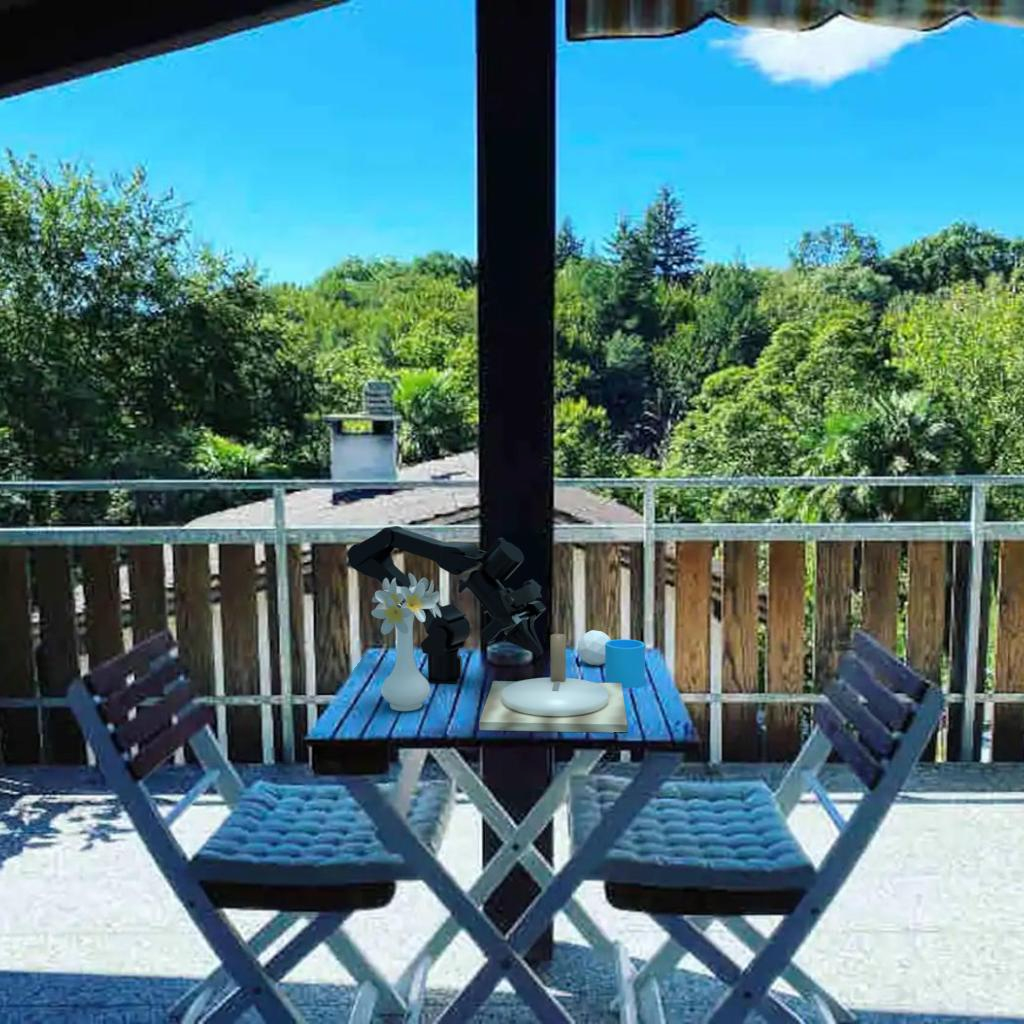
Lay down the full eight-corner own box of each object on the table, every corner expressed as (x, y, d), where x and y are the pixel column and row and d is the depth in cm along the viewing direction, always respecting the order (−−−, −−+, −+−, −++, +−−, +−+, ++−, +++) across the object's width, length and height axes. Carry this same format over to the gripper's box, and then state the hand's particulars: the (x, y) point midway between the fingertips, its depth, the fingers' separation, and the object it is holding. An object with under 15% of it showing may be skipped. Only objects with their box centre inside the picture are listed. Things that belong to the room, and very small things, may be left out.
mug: (645, 688, 197) (645, 649, 196) (605, 687, 198) (605, 648, 197) (643, 672, 209) (643, 635, 208) (605, 671, 210) (605, 634, 209)
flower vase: (368, 724, 175) (365, 587, 173) (378, 694, 194) (376, 570, 191) (440, 722, 176) (438, 587, 173) (443, 693, 194) (442, 570, 191)
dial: (606, 717, 172) (607, 660, 171) (495, 714, 175) (495, 657, 174) (609, 686, 192) (609, 634, 191) (509, 683, 195) (508, 632, 193)
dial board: (479, 730, 172) (479, 720, 172) (493, 688, 197) (493, 679, 197) (627, 732, 170) (627, 723, 170) (621, 690, 196) (621, 681, 195)
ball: (603, 677, 215) (615, 654, 210) (569, 664, 215) (581, 641, 210) (609, 654, 221) (620, 630, 216) (576, 641, 221) (587, 618, 216)
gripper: (494, 575, 185) (547, 638, 181) (536, 562, 201) (586, 619, 197) (459, 613, 189) (510, 674, 185) (503, 596, 206) (551, 652, 202)
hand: (541, 653), depth 192 cm, fingers closed
